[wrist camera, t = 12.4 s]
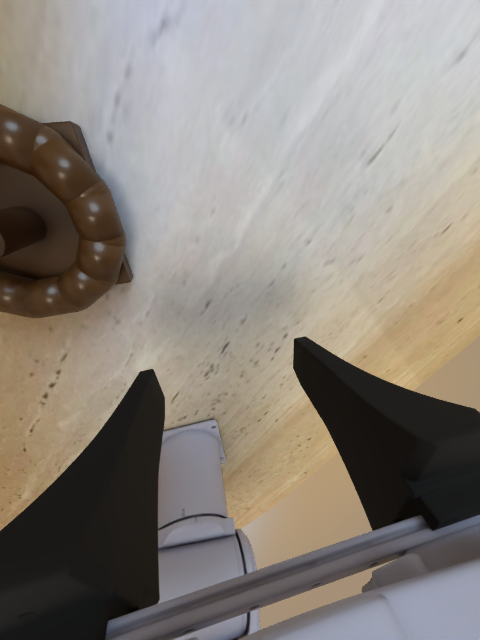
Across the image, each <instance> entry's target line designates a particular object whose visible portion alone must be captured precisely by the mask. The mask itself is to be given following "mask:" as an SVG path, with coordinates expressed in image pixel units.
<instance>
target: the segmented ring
mask: <svg viewBox="0 0 480 640" xmlns="http://www.w3.org/2000/svg"><path fill="white" fill-rule="evenodd" d="M0 163H2V164H5V165H7V166H10V167H12V168H15V169H17V170H20V171H22V172H25V173H27V174H30V175H32V176H34V177H35V178H36V179H37V180H39V181H40V182H41V183H42V184H43V185H44V186H45V187H46V188H47V189H48V190H49V191H50V192H51V193H53V194H54V195H55V196H56V197H57V198H58V199H59V200H60V201H61V202H62V203H63V204H64V205H65V206H66V209H67V211H68V213H69V215H70V218H71V220H72V222H73V224H74V226H75V229H76V231H77V233H78V235H79V241H78V248H77V256H76V262H75V263H74V264H73V265H71V266H70V267H69V268H68V269H67V270H66V271H65V272H64V273H63V274H62V275H60V276H57V277H50V278H44V279H37V280H34V279H30V278H26V277H22V276H19V275H15V274H11V273H7V272H3V271H2V270H0V311H1V312H6V313H10V314H15V315H20V316H24V317H29V318H44V317H49V316H55V315H61V314H66V313H72V312H78V311H82V310H84V309H86V308H88V307H89V306H91V305H92V304H93V303H94V302H95V301H96V300H98V299H99V298H100V297H101V296H102V295H103V294H105V293H106V292H107V291H108V290H109V289H110V288H112V287H113V286H114V285H115V284H116V282H117V280H118V277H119V273H120V269H121V264H122V260H123V255H124V251H125V246H126V236H125V233H124V230H123V227H122V224H121V221H120V218H119V215H118V212H117V209H116V206H115V203H114V200H113V198H112V195H111V192H110V190H109V188H108V186H107V185H106V183H105V182H104V181H103V180H102V179H101V178H100V177H99V175H98V174H97V173H96V172H95V171H94V170H93V169H92V168H91V167H90V166H89V165H88V164H87V163H86V161H85V160H84V159H83V158H82V157H81V156H80V155H79V154H78V153H77V152H76V151H75V150H74V148H73V147H72V146H71V145H70V144H69V143H68V142H67V141H66V140H65V139H64V138H63V137H62V136H61V135H60V134H59V133H58V132H56V131H55V130H53V129H52V128H50V127H48V126H46V125H44V124H41V123H39V122H37V121H35V120H33V119H31V118H29V117H27V116H25V115H22V114H20V113H18V112H16V111H14V110H12V109H10V108H8V107H5V106H3V105H1V104H0Z"/></svg>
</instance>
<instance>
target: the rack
mask: <svg viewBox="0 0 480 640" xmlns="http://www.w3.org/2000/svg"><path fill="white" fill-rule="evenodd" d="M41 124H44V125H46V126H48V127H50V128H52V129H53V130H55V131H56V132H58V133H59V134H60V135H61V136H62V137H63V138H64V139H65V140H66V141H67V142H68V143H69V144H70V145H71V146H72V147H73V148H74V150H75V151H76V152H77V153H78V154H79V155H80V156H81V157H82V158H83V159H84V160H85V161H86V163H87V164H88V165H89V166H90V167H91V168H92V169H93V170H94V171H95V168H94V166H93V163H92V160H91V157H90V155H89V152H88V149H87V146H86V143H85V141H84V138H83V135H82V132H81V129H80V127H79V126H78V125H76V124H75V123H73V122H71V121H66V122H53V123H41ZM95 172H96V171H95ZM78 241H79V235H78V233H77V231H76V229H75V226H74V224H73V222H72V220H71V218H70V215H69V213H68V211H67V209H66V206H65V205H64V204H63V203H62V202H61V201H60V200H59V199H58V198H57V197H56V196H55V195H54V194H53V193H51V192H50V191H49V190H48V189H47V188H46V187H45V186H44V185H43V184H42V183H41V182H40V181H39V180H37V179H36V178H35V177H34V176H32V175H30V174H27V173H25V172H22V171H20V170H17V169H15V168H12V167H10V166H7V165H5V164H2V163H0V270H2V271H3V272H7V273H11V274H15V275H19V276H22V277H26V278H30V279H34V280H37V279H44V278H50V277H57V276H60V275H62V274H63V273H64V272H65V271H66V270H67V269H68V268H69V267H70V266H71V265H73V264H74V263H75V262H76V256H77V248H78ZM132 278H133V274H132V272H131V269H130V266H129V263H128V260H127V258H126V255H125V252H124V255H123V260H122V264H121V269H120V273H119V277H118V280H117V282H116V284H122V283H128V282H131V280H132ZM116 284H115V285H116Z"/></svg>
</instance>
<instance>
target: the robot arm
mask: <svg viewBox="0 0 480 640" xmlns="http://www.w3.org/2000/svg"><path fill="white" fill-rule="evenodd" d="M293 369H294V371H295V373H296V375H297V378H298V380H299V382H300V384H301V386H302V388H303V389H304V391H305V393H306V394H307V396H308V397H309V399H310V401H311V402H312V404H313V406H314V407H315V409H316V410H317V412H318V414H319V415H320V417H321V418H322V420H323V422H324V423H325V425H326V427H327V429H328V431H329V433H330V435H331V437H332V439H333V441H334V443H335V445H336V447H337V449H338V451H339V453H340V455H341V457H342V460H343V462H344V464H345V466H346V468H347V470H348V473H349V475H350V477H351V479H352V482H353V484H354V486H355V489H356V491H357V493H358V496H359V498H360V500H361V503H362V505H363V508H364V510H365V513H366V515H367V517H368V520H369V522H370V525H371V528H372V530H373V531H371V532H368V533H366V534H362V535H359V536H357V537H354V538H351V539H348V540H345V541H342V542H339V543H336V544H333V545H330V546H327V547H324V548H321V549H318V550H315V551H312V552H309V553H306V554H304V555H301V556H298V557H295V558H292V559H289V560H286V561H283V562H280V563H277V564H274V565H271V566H268V567H265V568H262V569H260V570H257V568H256V562H255V558H254V554H253V550H252V547H251V544H250V541H249V539H248V538H247V536H246V535H245V534H244V533H243V531H242V530H241V529H235V525H234V519H233V518H228V511H227V504H226V497H225V489H224V482H223V475H222V468H221V464H224V463H225V462H226V458H225V454H224V450H223V445H222V441H221V437H220V433H219V429H218V425H217V421H216V420H209V421H205V422H201V423H197V424H193V425H189V426H184V427H180V428H176V429H172V430H168V431H164V432H163V430H164V420H165V397H164V395H163V392H162V390H161V387H160V385H159V382H158V380H157V377H156V375H155V372H154V370H153V369H150V370H146V371H141V372H140V373H139V374H138V376H137V377H136V379H135V380H134V382H133V384H132V385H131V387H130V388H129V390H128V392H127V393H126V395H125V396H124V398H123V399H122V401H121V402H120V404H119V405H118V407H117V408H116V410H115V411H114V413H113V414H112V415H111V417H110V418H109V419H108V421H107V422H106V423H105V425H104V426H103V428H102V429H101V430H100V431H99V433H98V434H97V435H96V436H95V438H94V439H93V440H92V441H91V443H90V444H89V445H88V446H87V447H86V448H85V450H84V451H83V452H82V453H81V454H80V455H79V456H78V457H77V458H76V460H75V461H74V462H73V463H72V464H71V465H70V466H69V467H68V468H67V469H66V470H65V471H64V472H63V473H62V474H61V475H60V476H59V477H58V478H57V479H56V480H55V481H54V482H53V483H52V484H51V485H50V486H49V487H48V488H47V489H46V490H45V491H44V492H43V493H42V494H41V495H40V496H39V497H38V498H37V499H36V500H35V501H34V502H33V503H31V504H30V505H29V506H28V507H27V508H26V509H25V510H24V511H23V512H22V513H21V514H19V515H18V516H17V517H16V518H15V519H14V520H13V521H11V522H10V523H9V524H8V525H7V526H6V527H4V528H3V529H2V530H1V531H0V640H480V413H479V412H478V411H477V410H476V409H473V408H470V407H465V406H462V405H458V404H454V403H450V402H446V401H443V400H439V399H436V398H433V397H429V396H426V395H423V394H420V393H417V392H414V391H411V390H408V389H405V388H403V387H400V386H397V385H395V384H392V383H390V382H387V381H385V380H382V379H380V378H378V377H376V376H374V375H371V374H369V373H367V372H365V371H363V370H361V369H359V368H357V367H355V366H353V365H351V364H350V363H348V362H346V361H344V360H342V359H341V358H339V357H337V356H336V355H334V354H332V353H331V352H329V351H327V350H326V349H324V348H323V347H321V346H320V345H318V344H316V343H315V342H313V341H312V340H310V339H308V338H307V337H300V338H296V339H294V359H293ZM397 558H398V559H397ZM395 559H396V560H395ZM392 560H394V561H392ZM389 561H392V562H390V563H388V564H386V565H384V566H382V567H380V568H378V569H376V570H375V571H373V572H372V578H371V580H370V581H369V582H368V583H367V584H365V585H364V586H363V587H362V593H361V594H358V595H355V596H352V597H348V598H345V599H342V600H339V601H336V602H333V603H331V604H328V605H325V606H322V607H319V608H316V609H313V610H311V611H308V612H306V613H303V614H300V615H298V616H295V617H292V618H289V619H287V620H284V621H282V622H279V623H277V624H274V625H272V626H269V627H267V628H264V629H262V630H260V618H259V617H260V616H259V614H260V608H262V607H264V606H267V605H270V604H273V603H276V602H278V601H281V600H284V599H287V598H289V597H292V596H295V595H298V594H300V593H303V592H306V591H309V590H312V589H314V588H317V587H320V586H323V585H325V584H328V583H331V582H334V581H336V580H339V579H342V578H345V577H347V576H350V575H353V574H356V573H359V572H361V571H364V570H367V569H369V568H372V567H375V566H378V565H381V564H384V563H386V562H389Z"/></svg>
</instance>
